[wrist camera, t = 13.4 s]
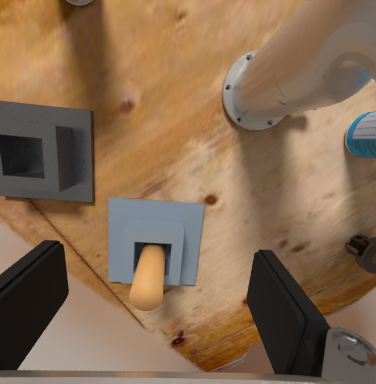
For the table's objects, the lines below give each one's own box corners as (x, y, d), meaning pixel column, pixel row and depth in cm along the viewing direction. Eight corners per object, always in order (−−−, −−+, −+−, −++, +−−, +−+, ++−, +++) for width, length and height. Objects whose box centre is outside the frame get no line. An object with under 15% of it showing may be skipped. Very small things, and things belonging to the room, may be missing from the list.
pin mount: (92, 111, 35) (76, 105, 29) (94, 200, 38) (79, 211, 33) (-8, 100, 33) (-47, 92, 27) (4, 194, 37) (-28, 204, 31)
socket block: (203, 203, 40) (208, 214, 34) (194, 281, 44) (197, 303, 39) (110, 196, 38) (98, 207, 33) (110, 278, 43) (100, 300, 37)
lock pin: (166, 235, 40) (163, 283, 27) (165, 255, 41) (161, 311, 28) (144, 234, 40) (129, 282, 26) (143, 254, 41) (128, 310, 27)
